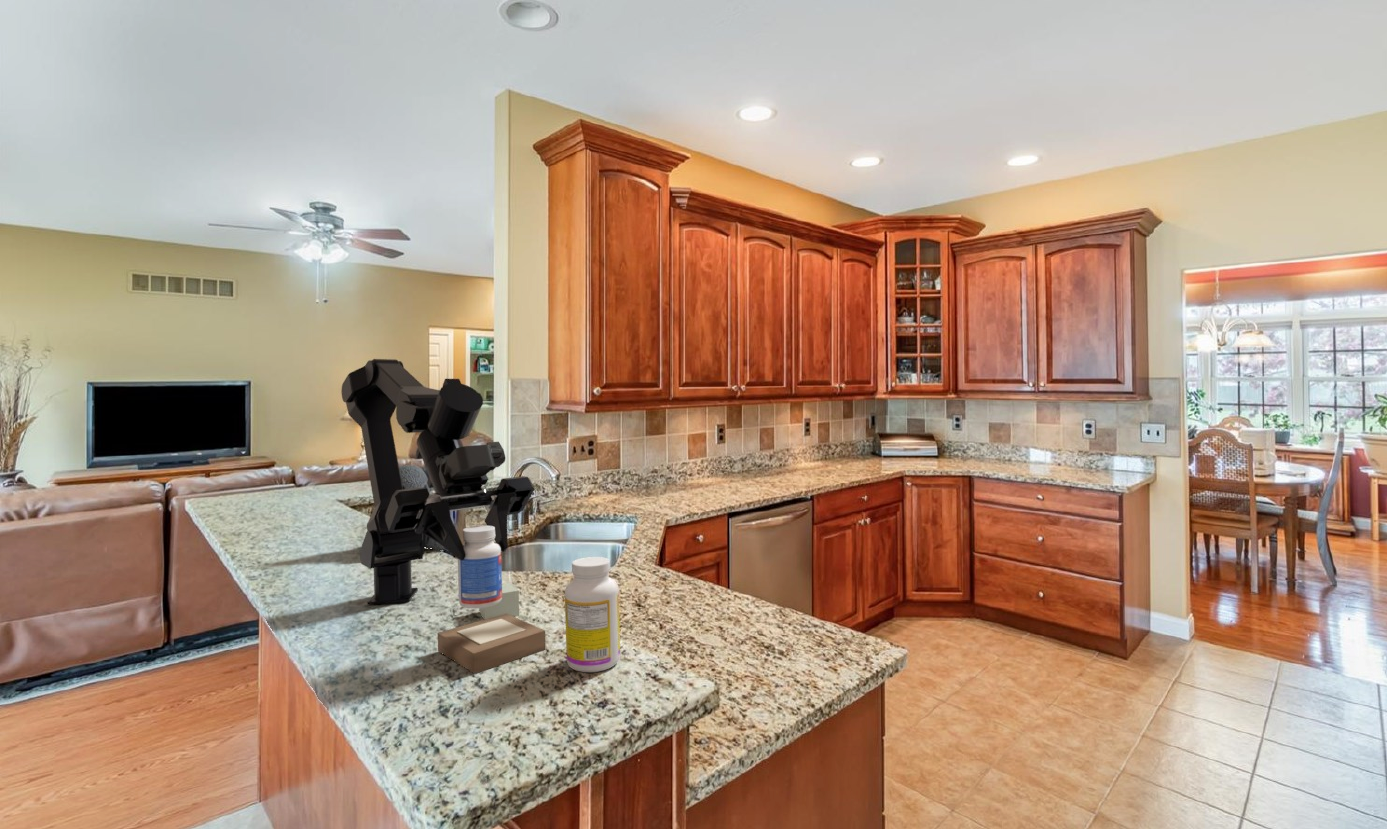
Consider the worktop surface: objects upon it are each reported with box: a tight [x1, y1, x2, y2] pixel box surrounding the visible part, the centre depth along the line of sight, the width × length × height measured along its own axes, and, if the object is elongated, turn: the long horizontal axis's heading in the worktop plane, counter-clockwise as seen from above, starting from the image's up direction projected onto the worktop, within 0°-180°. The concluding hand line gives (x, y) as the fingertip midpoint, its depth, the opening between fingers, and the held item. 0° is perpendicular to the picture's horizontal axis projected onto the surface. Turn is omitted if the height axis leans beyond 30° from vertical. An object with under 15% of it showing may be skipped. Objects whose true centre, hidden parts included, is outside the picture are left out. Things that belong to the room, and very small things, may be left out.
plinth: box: [437, 614, 547, 674], centre depth 84 cm, size 10×10×3 cm
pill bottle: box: [457, 525, 503, 609], centre depth 83 cm, size 6×5×10 cm
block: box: [478, 582, 520, 620], centre depth 98 cm, size 5×5×4 cm
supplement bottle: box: [564, 556, 621, 673], centre depth 79 cm, size 7×7×13 cm
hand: (484, 554), depth 82 cm, fingers closed on pill bottle, 5 cm apart
